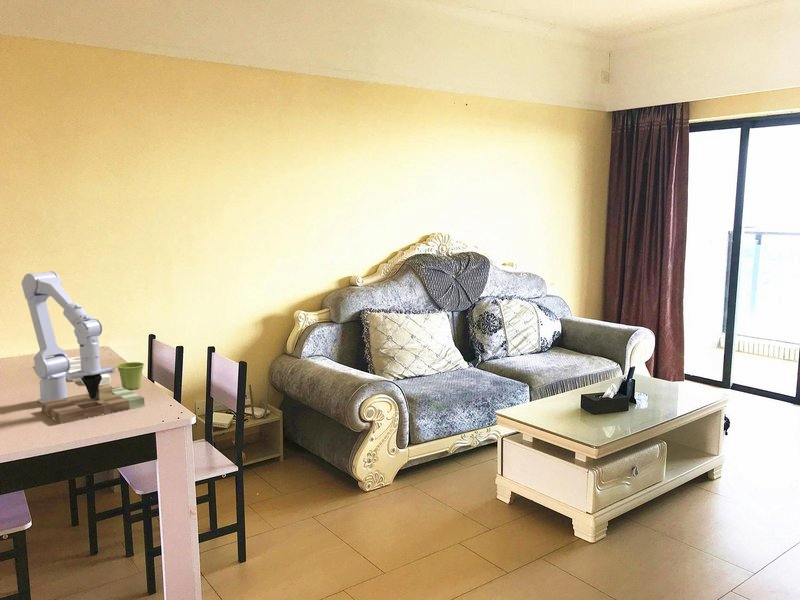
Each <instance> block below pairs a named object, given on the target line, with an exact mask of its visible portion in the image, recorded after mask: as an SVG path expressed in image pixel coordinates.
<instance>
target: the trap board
mask: <svg viewBox="0 0 800 600" xmlns="http://www.w3.org/2000/svg"><path fill="white" fill-rule="evenodd" d="M40 404H41V406H40V407H41V412H42V411H43V412H42V413H44V412H45V413H46V414H45V413H44V414H45V415H47V414H48V415H49V416H50V417H49V416H48V415H47V416H48V417H49V418H51V417H52V418H54V419H55V420H56V421H55V420H54V419H53V420H54V421H55V422H57V421H58V422H59V424H60V423H63V424H66V423H65V422H67V423H70V421H72V422H75V421H74V420H77V421H80V420H79V419H82V420H85V419H84V418H86V419H89V418H88V417H91V418H95V417H94V416H96V417H99V415H101V416H103V415H102V414H105V415H109V414H108V413H110V414H113V413H112V412H115V413H118V411H120V412H123V410H125V411H128V409H129V410H134V409H138V408H137V407H139V408H143V407H142V406H144V407H145V406H146V405H145V396H142V395H139V394H138V393H136V392H133V391H131V390H130V389H125V388H123V387H122V386H121V387H115V388H112V398H109V399H104V400H98V399H97V398H93V399H91V398H90V397H89V393H84V394H80V395H79V394H77V395H73V396H69V397H68V396H67V398H62V399H56V400H51V401H45V402H41V403H40ZM133 408H134V409H133ZM52 418H51V419H52ZM58 422H57V423H58Z"/></svg>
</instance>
